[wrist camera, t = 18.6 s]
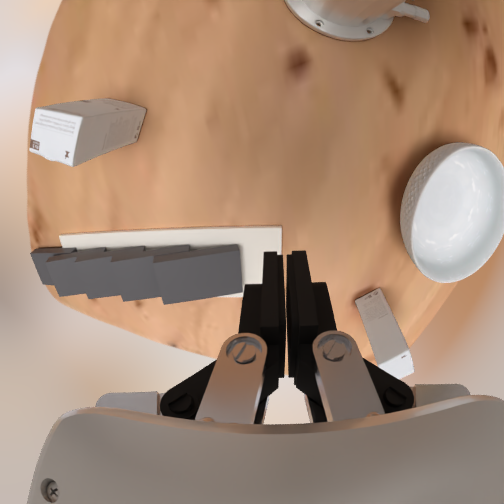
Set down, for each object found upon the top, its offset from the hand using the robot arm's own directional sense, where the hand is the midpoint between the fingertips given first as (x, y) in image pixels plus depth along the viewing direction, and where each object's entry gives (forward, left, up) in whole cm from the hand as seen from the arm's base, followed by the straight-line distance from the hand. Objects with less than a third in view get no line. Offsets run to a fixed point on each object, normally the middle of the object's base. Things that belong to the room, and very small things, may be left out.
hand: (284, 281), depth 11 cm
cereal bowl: (-22, +2, -20) cm, 30 cm away
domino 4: (+10, +11, -19) cm, 24 cm away
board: (+15, +11, -20) cm, 28 cm away
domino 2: (+22, +11, -19) cm, 31 cm away
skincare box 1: (+17, -8, -20) cm, 28 cm away
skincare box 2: (-15, +19, -20) cm, 32 cm away
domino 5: (+4, +11, -19) cm, 22 cm away
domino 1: (+28, +11, -19) cm, 36 cm away
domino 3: (+16, +11, -19) cm, 27 cm away
